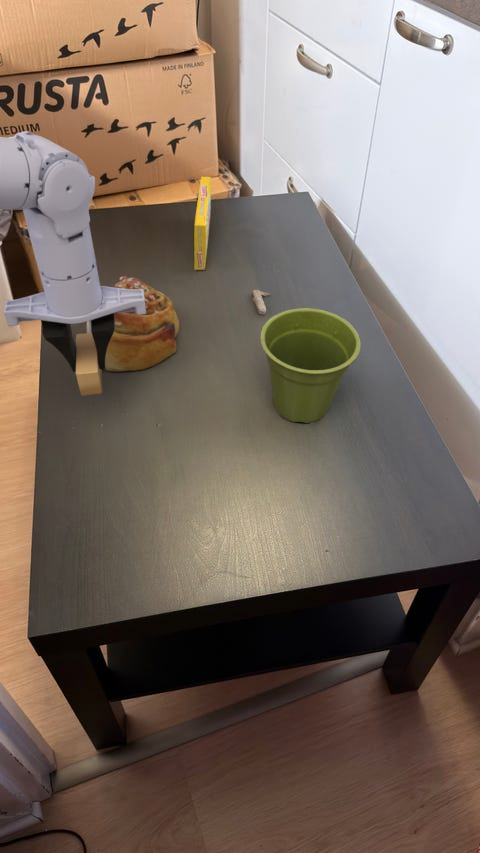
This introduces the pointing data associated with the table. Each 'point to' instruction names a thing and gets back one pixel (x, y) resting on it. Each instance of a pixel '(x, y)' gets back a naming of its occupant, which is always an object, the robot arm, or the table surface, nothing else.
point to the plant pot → (307, 360)
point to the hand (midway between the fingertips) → (89, 364)
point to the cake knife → (87, 364)
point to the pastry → (142, 331)
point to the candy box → (202, 223)
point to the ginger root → (259, 301)
